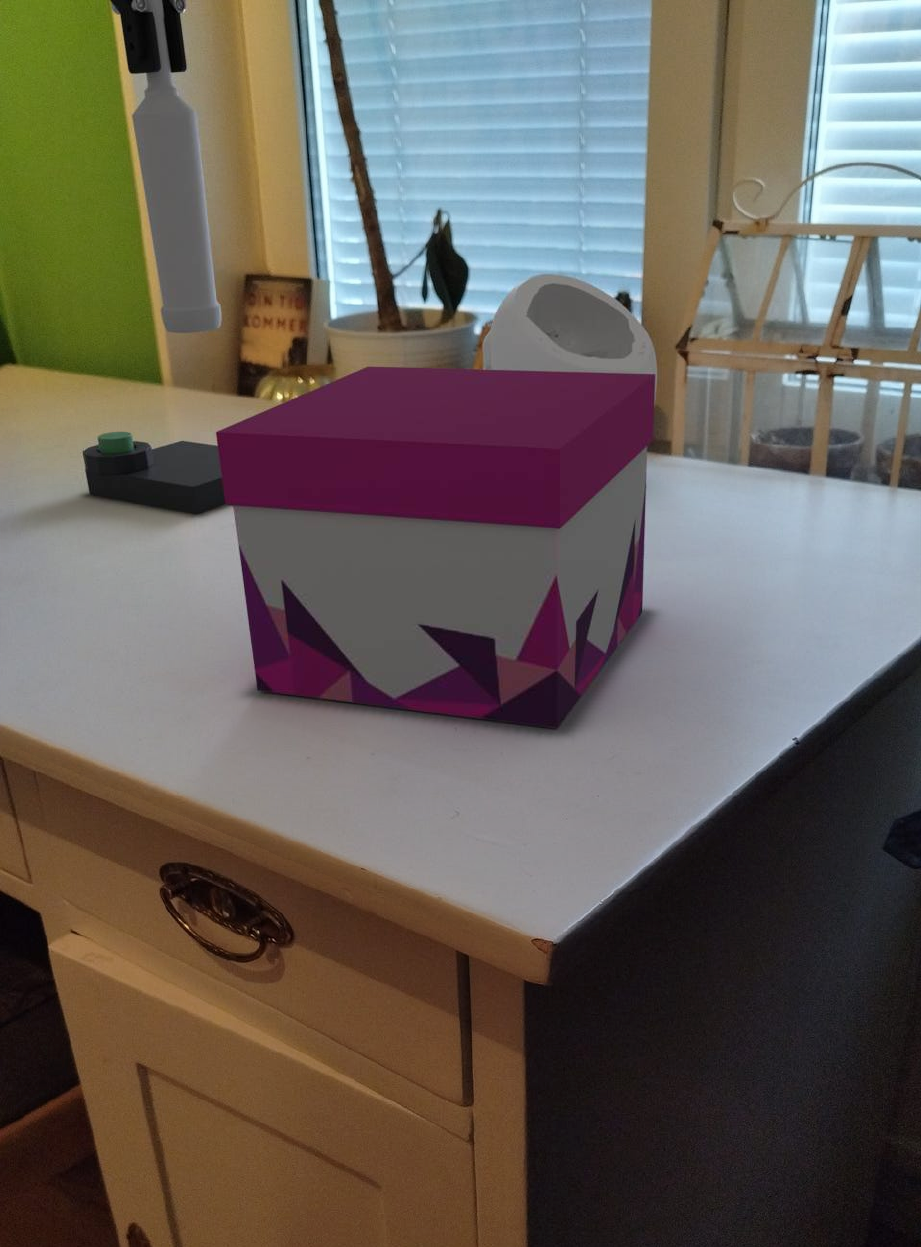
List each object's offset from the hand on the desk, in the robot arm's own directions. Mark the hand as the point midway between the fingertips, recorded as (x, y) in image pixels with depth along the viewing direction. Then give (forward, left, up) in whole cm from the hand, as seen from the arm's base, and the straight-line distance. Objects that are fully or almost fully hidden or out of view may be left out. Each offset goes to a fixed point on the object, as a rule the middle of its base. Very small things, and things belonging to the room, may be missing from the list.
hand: (157, 70), depth 101 cm
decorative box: (+45, -23, -33) cm, 60 cm away
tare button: (-5, -7, -29) cm, 31 cm away
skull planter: (+28, +16, -33) cm, 46 cm away
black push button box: (0, -3, -33) cm, 33 cm away
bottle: (0, 0, -20) cm, 20 cm away
